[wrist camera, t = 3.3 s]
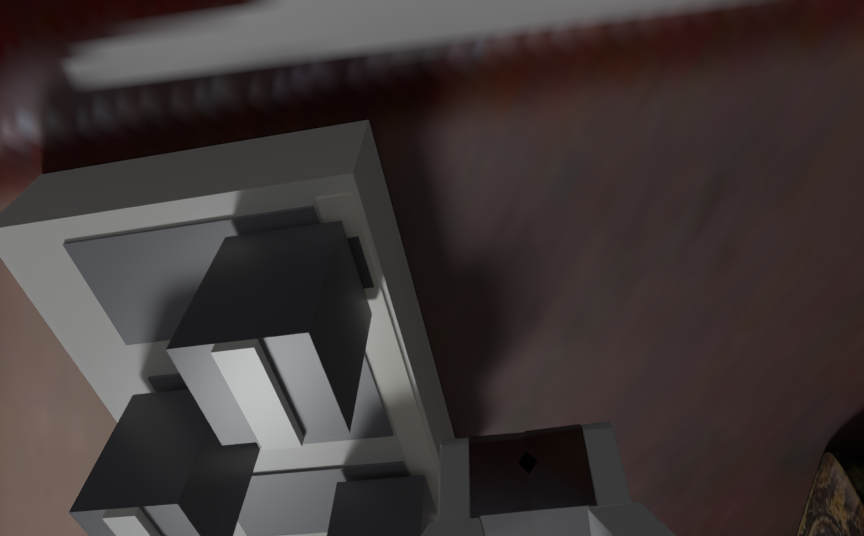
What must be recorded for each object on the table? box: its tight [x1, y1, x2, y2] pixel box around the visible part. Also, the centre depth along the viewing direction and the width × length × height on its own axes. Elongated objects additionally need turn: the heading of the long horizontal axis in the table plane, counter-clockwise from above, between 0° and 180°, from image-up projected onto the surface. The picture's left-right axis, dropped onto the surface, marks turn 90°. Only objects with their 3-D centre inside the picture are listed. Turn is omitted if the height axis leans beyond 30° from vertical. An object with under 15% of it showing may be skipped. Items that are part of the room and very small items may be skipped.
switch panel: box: [0, 120, 455, 536], centre depth 22 cm, size 10×15×3 cm, turn 11°
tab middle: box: [69, 389, 260, 536], centre depth 19 cm, size 3×3×4 cm
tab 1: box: [166, 221, 372, 450], centre depth 15 cm, size 3×3×4 cm
